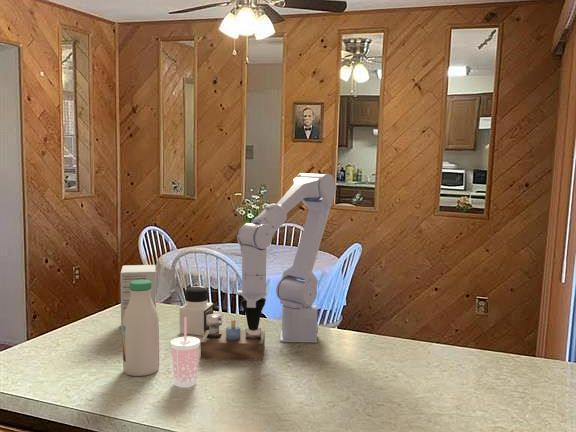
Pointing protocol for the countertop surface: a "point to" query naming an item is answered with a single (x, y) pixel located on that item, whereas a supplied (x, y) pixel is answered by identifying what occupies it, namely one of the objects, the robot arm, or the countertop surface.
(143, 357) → the milk bottle
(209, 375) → the countertop surface
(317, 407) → the countertop surface
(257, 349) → the mount
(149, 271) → the supplement box
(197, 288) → the medicine bottle
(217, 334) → the knob
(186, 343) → the beverage cup
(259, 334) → the knob
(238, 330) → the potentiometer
